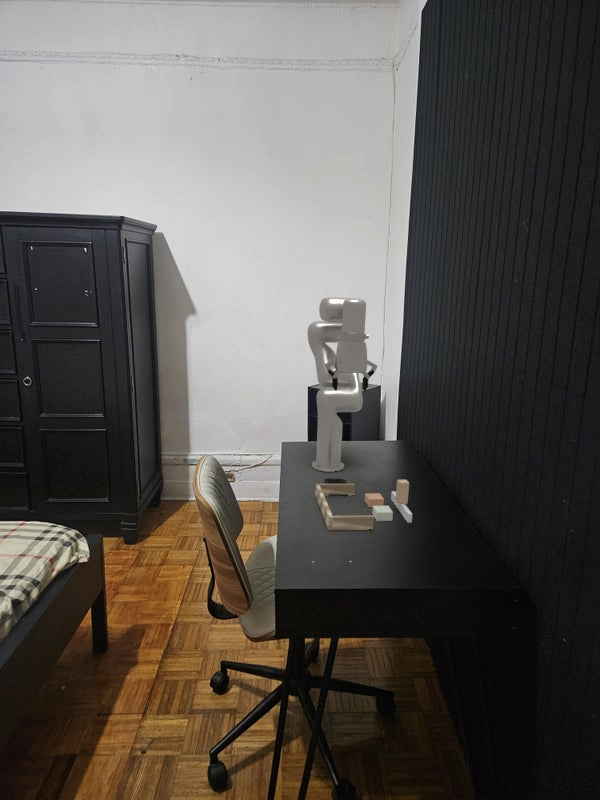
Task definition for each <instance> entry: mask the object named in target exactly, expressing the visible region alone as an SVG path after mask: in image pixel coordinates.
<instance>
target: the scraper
mask: <svg viewBox="0 0 600 800" xmlns="http://www.w3.org/2000/svg"><path fill="white" fill-rule="evenodd" d="M395 488H396V489H395V491H394V490H392V491H391V493H390V495H391V496H390V500H391V501H392V503H393V502H394V503H393V505H396V506H395V507H396V509H398V511H399V512H400V514H401V515H402V517H403V518H404V520H405V521H406V523H407V524H409V523H410V524H411V523H412V522H413V513H412V511H411V510H410V509H409V507H408V506H407V504H408V502H409V501H408V500H409V490H410V482H409V481H408V480H407V479H397V480H396V487H395Z"/></svg>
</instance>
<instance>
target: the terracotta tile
mask: <svg viewBox="0 0 600 800" xmlns="http://www.w3.org/2000/svg"><path fill="white" fill-rule="evenodd" d="M365 502H366V503H367V505H368V506H367V505H366V506H367V508H368V507H372V508H373V506H385V505H384V503H385V499H384V497H383V496H382V494H381V493H380V492H378V493H377V492H376V493H375V492H372V493H371V492H370V493H364V503H365ZM366 503H365V504H366Z"/></svg>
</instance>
